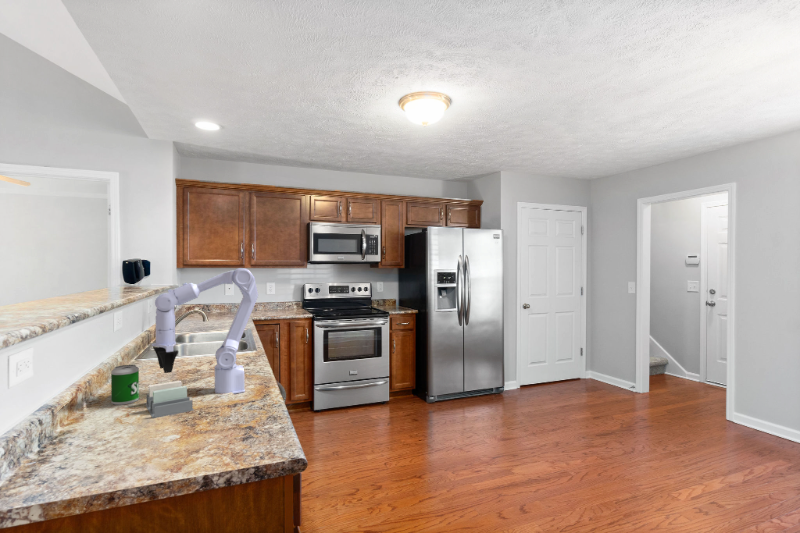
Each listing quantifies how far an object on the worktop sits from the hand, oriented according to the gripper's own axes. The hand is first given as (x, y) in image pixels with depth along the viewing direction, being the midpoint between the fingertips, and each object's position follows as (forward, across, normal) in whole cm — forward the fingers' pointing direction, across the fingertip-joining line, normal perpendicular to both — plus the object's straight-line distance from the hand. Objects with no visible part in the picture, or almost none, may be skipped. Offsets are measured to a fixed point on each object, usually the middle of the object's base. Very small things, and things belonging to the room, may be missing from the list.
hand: (165, 370), depth 140 cm
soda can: (+10, -4, -11) cm, 15 cm away
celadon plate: (+9, +13, -1) cm, 16 cm away
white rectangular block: (+9, +5, -1) cm, 11 cm away
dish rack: (+10, +11, -1) cm, 15 cm away
